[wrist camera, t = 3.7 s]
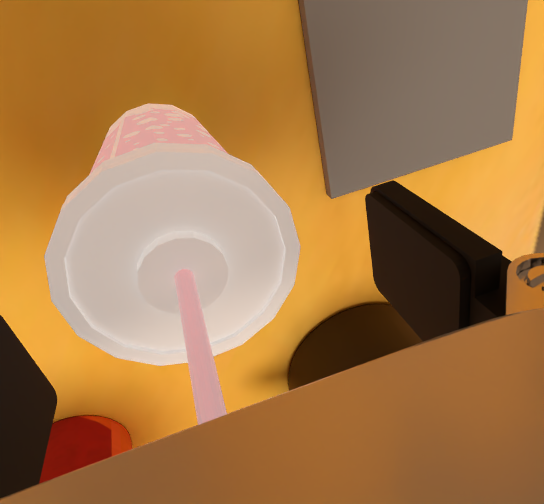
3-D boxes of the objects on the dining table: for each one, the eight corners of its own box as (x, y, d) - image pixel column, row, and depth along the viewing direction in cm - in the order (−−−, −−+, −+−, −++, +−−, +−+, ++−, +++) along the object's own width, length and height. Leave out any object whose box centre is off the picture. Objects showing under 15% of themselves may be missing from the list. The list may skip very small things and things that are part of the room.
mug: (245, 321, 24) (298, 470, 16) (432, 290, 27) (551, 404, 19) (246, 432, 28) (288, 587, 21) (405, 395, 31) (492, 519, 24)
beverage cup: (142, 248, 20) (163, 603, 8) (45, 135, 16) (-162, 468, 5) (256, 180, 20) (439, 439, 8) (182, 51, 16) (318, 180, 5)
